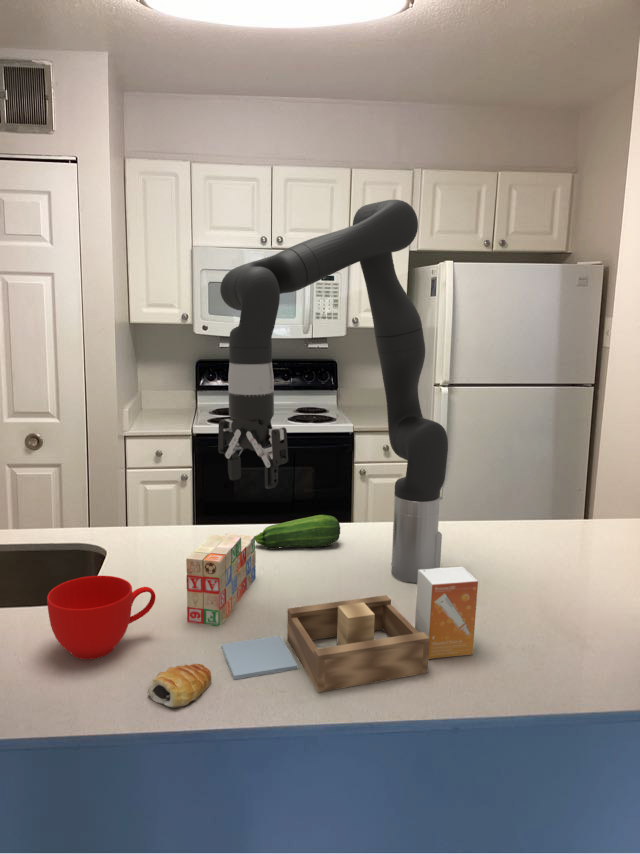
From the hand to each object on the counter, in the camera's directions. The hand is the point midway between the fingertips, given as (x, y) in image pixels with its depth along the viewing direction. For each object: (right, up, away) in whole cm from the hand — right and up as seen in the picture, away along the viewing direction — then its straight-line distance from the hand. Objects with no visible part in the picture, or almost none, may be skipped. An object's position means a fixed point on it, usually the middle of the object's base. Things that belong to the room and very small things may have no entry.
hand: (252, 483), depth 118 cm
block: (+17, -27, -7) cm, 33 cm away
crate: (+17, -27, -7) cm, 33 cm away
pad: (+2, -27, -8) cm, 28 cm away
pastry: (-9, -29, -17) cm, 35 cm away
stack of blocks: (-7, -23, +13) cm, 28 cm away
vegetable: (+6, -18, +41) cm, 46 cm away
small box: (+32, -27, -4) cm, 42 cm away
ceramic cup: (-24, -27, -5) cm, 36 cm away
